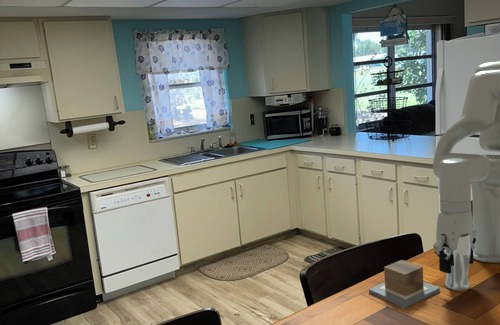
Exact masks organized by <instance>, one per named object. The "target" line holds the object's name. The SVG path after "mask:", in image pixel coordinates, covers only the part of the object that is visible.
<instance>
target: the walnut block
mask: <svg viewBox="0 0 500 325" xmlns="http://www.w3.org/2000/svg"><path fill="white" fill-rule="evenodd" d="M383 271H384V272H383V273H384V283H385V288H387V289H390V290H392V291H394V292H397V293H399V294H402V295H404V296H407V295H410V294H412V293H414V292H416V291H418V290H421V289H423V282H424V267H423V266H421V265H418V264H414V263H413V262H409V261H406V260H403V259H401V260H398V261H395V262H393V263H390V264H388V265H386V266H384V267H383Z"/></svg>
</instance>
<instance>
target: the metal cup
mask: <svg viewBox="0 0 500 325" xmlns="http://www.w3.org/2000/svg"><path fill="white" fill-rule="evenodd" d="M445 246H446V247H449V246H448V245H447V244H445ZM444 253H445V254H446V253H447V250H444ZM470 255H471V243H470V233H469V234H468V235H467V236H464V237H459V240H458V245H457V249H456V250H453V251H452V253H451V255H450V258H449V259H451V273H450V274H448V273H445V274H446V276H445V281H444V282H445V283H444V285H445V287H446V288H447V289H449V290H453V291H458V292H459V291H467V290H469V289H470V281H469V268H470V264H469V262H470Z"/></svg>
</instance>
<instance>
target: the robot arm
mask: <svg viewBox="0 0 500 325" xmlns="http://www.w3.org/2000/svg"><path fill="white" fill-rule="evenodd" d="M467 86H468V87H467V91H466V94H465V99H464V103H463V106H462V112H461V116H460V118H459V119H458V120H457V121H456V122H454V123H453V124H452V125H450V126H449V127H448V128H447V130H446V131H445V132H443V134H442V135H441V136H440V138H439V139H438V142H437V144H436V149H435V152H434V157H433V162H432V171H433V174H434V175H435V177H436V178H438V179H439V180H438V181H439V212H438V214H437V215H438V216H437V219H436V220H437V221H436V236H435V238H436V239H435V243H434V244H433V246H432V247H433V250H434V251H435V252H434V253H435V254H436V255H437V258H438V259H439V261H438V262H439V264H438V265H439V272H442V273H445V274H447V273H448V274H450V273H451V259H449V258H450V255H451V253H452V251H453V250H456V249H457V245H458V240H459V237H464V236H467V235H468V234H469V233H470V243H471V255H470V262H469V265H472V264H474V260H476V261H479V262H483V263H492V264H493V263H496V264H499V263H500V154H480V153H479V154H477V153H457V152H456V153H455V152H452V150H453V149H454V148H455V146H456V145H457V144H458V143H460V142H461V141H463V140H465V139H467V138H469V137H471V136H474V135H476V134H477V135H478V134H479V138H478V139H479V141H478V144H479V146H480V148H481V149H482V150H484V151H488V152H494V153H495V152H497V153H500V60H497V61H489V62H485V63H482V64H480V65H478V66H477V67H476V68H475V71H474V74H473V75H471V77H470V80H469V82H468V85H467ZM445 244H447V245H448V246H449V247H446V246H445ZM444 250H447V253H446V254H445V253H444Z"/></svg>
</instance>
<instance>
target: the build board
mask: <svg viewBox="0 0 500 325" xmlns="http://www.w3.org/2000/svg"><path fill="white" fill-rule="evenodd" d="M440 292H441V288H440V287H439V286H436V285H433V284H431V283H427V282H425V281H423V289H421V290H418V291H416V292H414V293H412V294H410V295H407V296H404V295H402V294H399V293H397V292H394V291H392V290H390V289H387V288H385V282H383V283H380V284H378V285H375V286H373V287H371V288H369V289H368V293H369V294H372V295H374V296H376V297H378V298H380V299H382V300H384V301H388V302H390V303H391V304H393V305H396V306H398V307H400V308H402V309H406V308H407V307H410V306H412V305H414V304H417V303H418V302H420V301H422V300H424V299H427V298H429V297H431V296H433V295H435V294H438V293H440Z"/></svg>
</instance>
